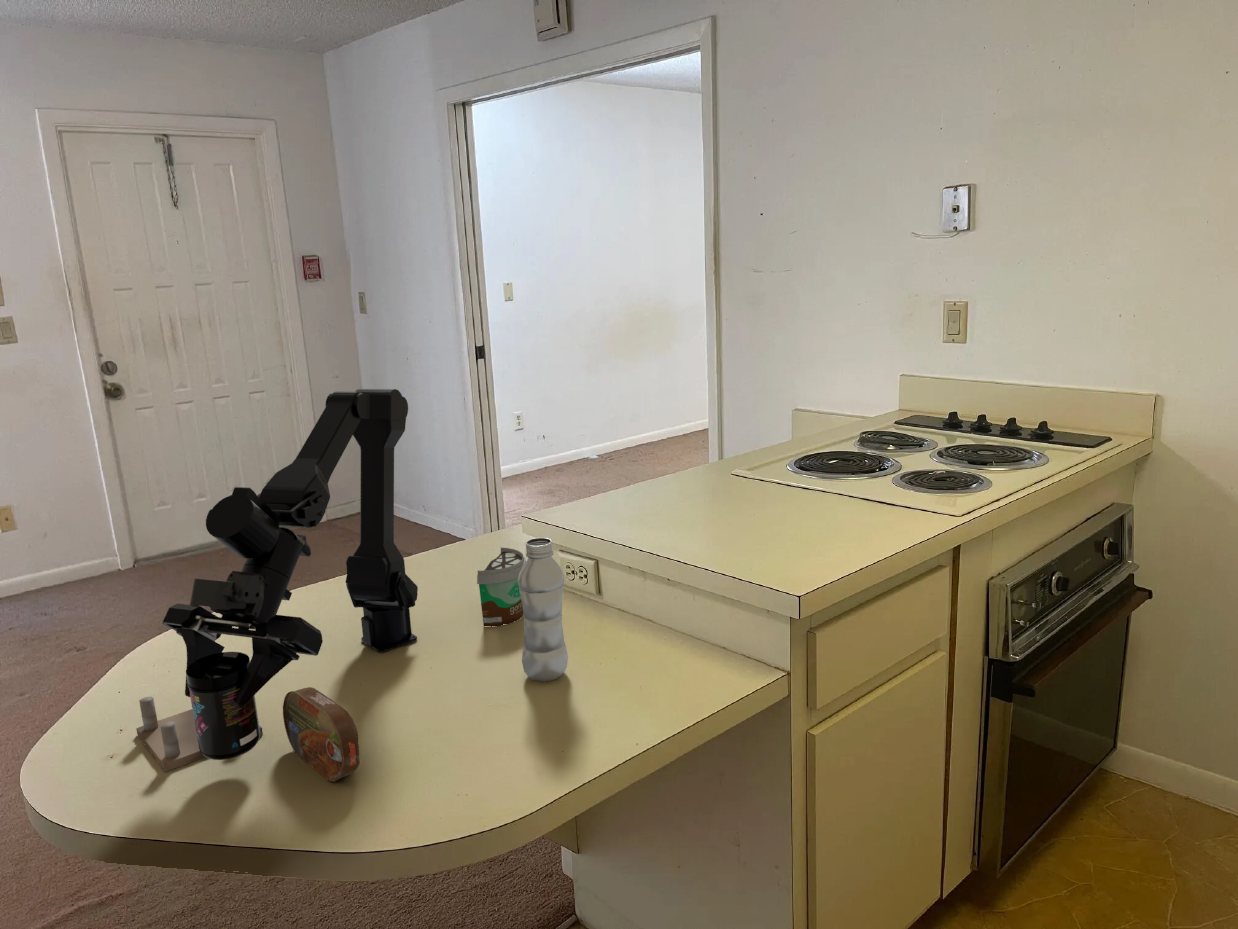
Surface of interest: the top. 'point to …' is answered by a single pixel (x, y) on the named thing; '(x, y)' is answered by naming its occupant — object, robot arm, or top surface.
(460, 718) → the top surface
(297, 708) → the tin
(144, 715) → the cradle
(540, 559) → the plastic bottle
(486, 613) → the food container
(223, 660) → the supplement container
